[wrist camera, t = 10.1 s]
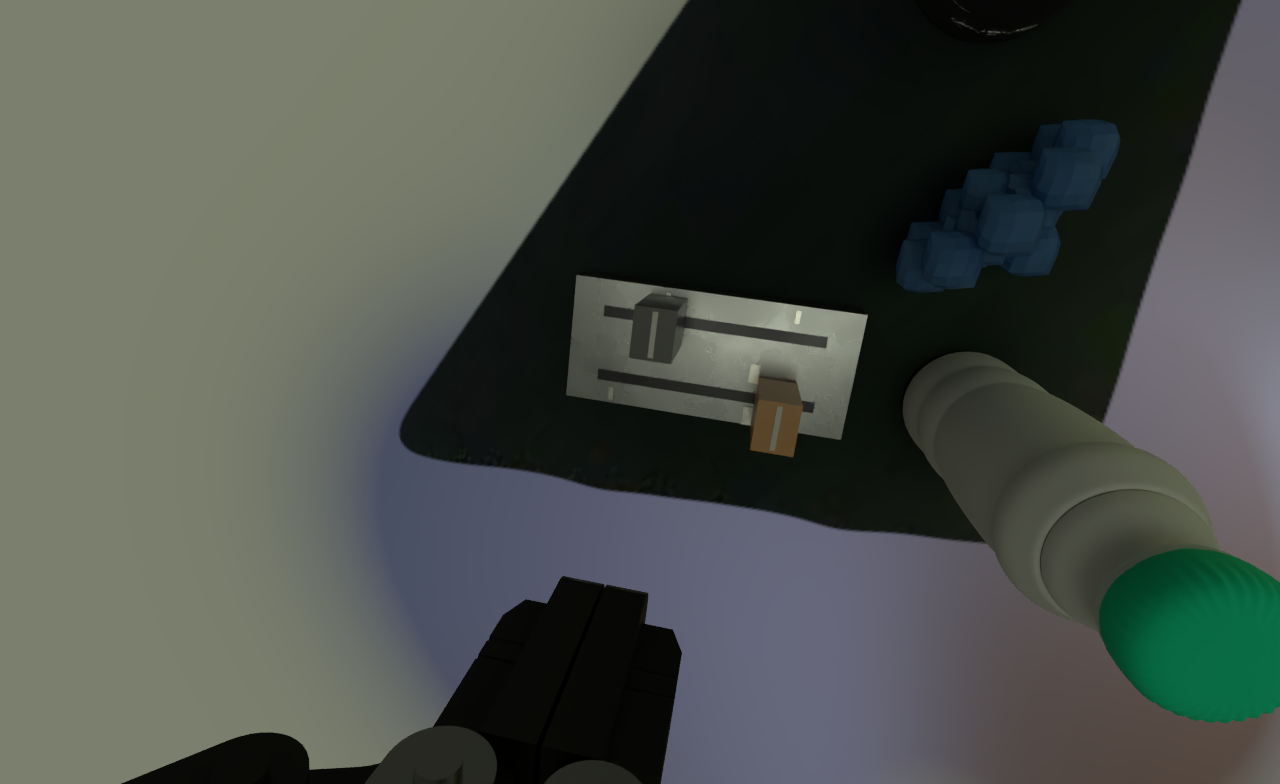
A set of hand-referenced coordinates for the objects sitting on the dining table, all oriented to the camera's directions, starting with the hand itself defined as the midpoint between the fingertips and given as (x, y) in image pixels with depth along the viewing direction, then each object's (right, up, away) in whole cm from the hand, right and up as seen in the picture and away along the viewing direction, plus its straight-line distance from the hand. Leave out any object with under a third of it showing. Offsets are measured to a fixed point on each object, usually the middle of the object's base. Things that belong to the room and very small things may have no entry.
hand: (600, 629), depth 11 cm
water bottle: (+21, +3, +30) cm, 37 cm away
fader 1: (+2, +9, +29) cm, 31 cm away
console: (+5, +7, +32) cm, 33 cm away
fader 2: (+9, +3, +30) cm, 31 cm away
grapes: (+20, +14, +27) cm, 37 cm away
